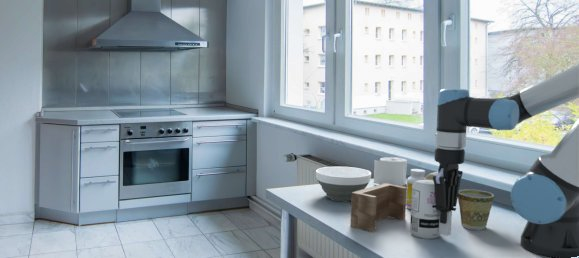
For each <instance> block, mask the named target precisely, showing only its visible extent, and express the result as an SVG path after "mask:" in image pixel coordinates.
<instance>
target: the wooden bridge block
mask: <svg viewBox="0 0 579 258" xmlns="http://www.w3.org/2000/svg"><path fill="white" fill-rule="evenodd" d="M406 192H407V186H397V185H392V184H387V183H384V184H377V185H374V186H370V187H365V189H362V190H359V191H355V192H352V196H351V201H350V223H349V224H350V225H349V226H350V227H352V228H356V229H359V230H362V231H367V232H369V233H374V232H375V231H376V224H377V223H376V222H379V221H381V220H383V219H386V218H392V219H396V220H400V221H404V220H406V211H407V207H406Z"/></svg>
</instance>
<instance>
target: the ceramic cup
mask: <svg viewBox="0 0 579 258" xmlns="http://www.w3.org/2000/svg"><path fill="white" fill-rule="evenodd" d="M494 198H495V195H494V194H493V193H492V192H490V191H485V190H481V189H470V188H469V189H459V192H458V198H457V203H458V205H459V206H458V207H459V214H460V223H461V226H462V227H463V228H464V229H467V230H476V231H482V230H485V229H486V228H487V225H488V221H489V217H490V213H491V210H492V206H493V203H494Z"/></svg>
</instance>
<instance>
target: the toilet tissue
mask: <svg viewBox="0 0 579 258" xmlns="http://www.w3.org/2000/svg"><path fill="white" fill-rule="evenodd" d="M407 165H408V160H407V159H406V158H404V157H403V158H402V157H396V156H395V157H391V156H389V157H388V156H387V157H386V156H385V157H380V159H379V160H378V159H374V169H373V184H377V185H381V184H384V183H387V184H392V185H397V186H403V187H405V186H407V167H408V166H407Z"/></svg>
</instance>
